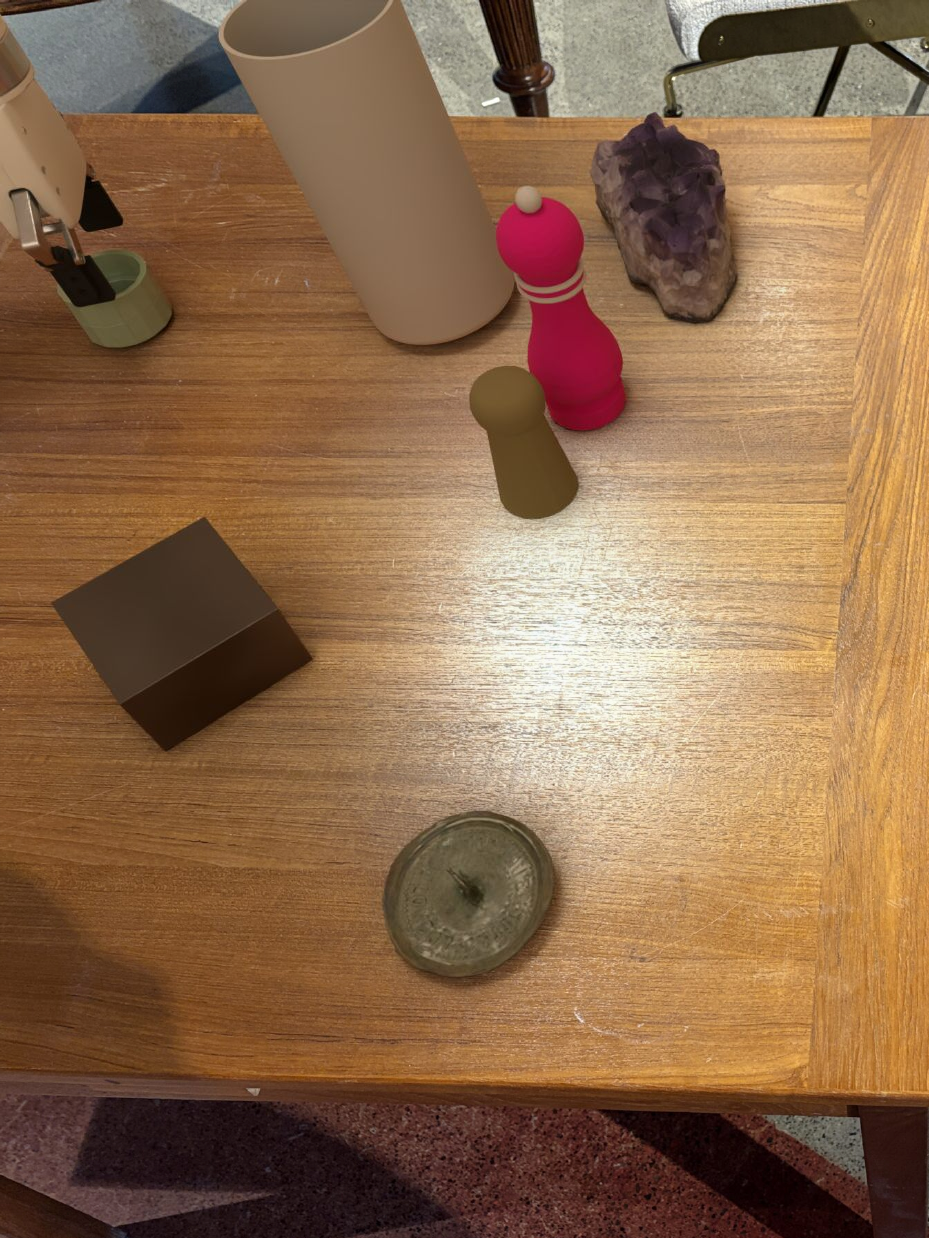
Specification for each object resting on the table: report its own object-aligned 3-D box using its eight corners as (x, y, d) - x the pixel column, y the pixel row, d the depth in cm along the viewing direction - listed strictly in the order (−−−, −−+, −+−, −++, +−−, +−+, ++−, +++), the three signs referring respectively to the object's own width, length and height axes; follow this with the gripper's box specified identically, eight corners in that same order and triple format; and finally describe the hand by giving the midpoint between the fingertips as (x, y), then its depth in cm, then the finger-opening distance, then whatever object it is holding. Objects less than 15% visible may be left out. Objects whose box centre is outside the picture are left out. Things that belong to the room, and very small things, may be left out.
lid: (569, 840, 83) (549, 787, 79) (557, 967, 75) (534, 915, 72) (407, 864, 82) (379, 812, 79) (378, 994, 75) (347, 943, 72)
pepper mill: (574, 450, 100) (507, 236, 83) (525, 401, 103) (451, 186, 87) (650, 405, 103) (599, 190, 86) (599, 359, 106) (541, 143, 89)
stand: (165, 752, 85) (119, 704, 80) (97, 653, 90) (50, 602, 85) (313, 659, 89) (278, 608, 84) (241, 569, 94) (204, 515, 89)
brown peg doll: (491, 474, 99) (448, 367, 90) (566, 450, 100) (532, 342, 91) (510, 528, 96) (467, 424, 87) (588, 503, 97) (554, 397, 88)
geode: (784, 302, 109) (760, 210, 101) (658, 352, 108) (623, 263, 100) (712, 162, 119) (684, 67, 111) (596, 206, 118) (559, 114, 110)
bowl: (110, 364, 107) (77, 317, 102) (76, 323, 110) (43, 275, 105) (188, 325, 109) (160, 277, 105) (153, 285, 112) (124, 238, 108)
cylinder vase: (521, 245, 113) (404, -46, 93) (513, 336, 105) (384, 41, 85) (383, 268, 113) (236, -17, 93) (365, 360, 106) (202, 72, 86)
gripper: (-71, 13, 94) (63, 209, 109) (-108, 147, 85) (43, 343, 99) (34, -6, 95) (153, 191, 109) (9, 125, 86) (143, 322, 100)
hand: (101, 263), depth 104 cm, fingers open, 9 cm apart
